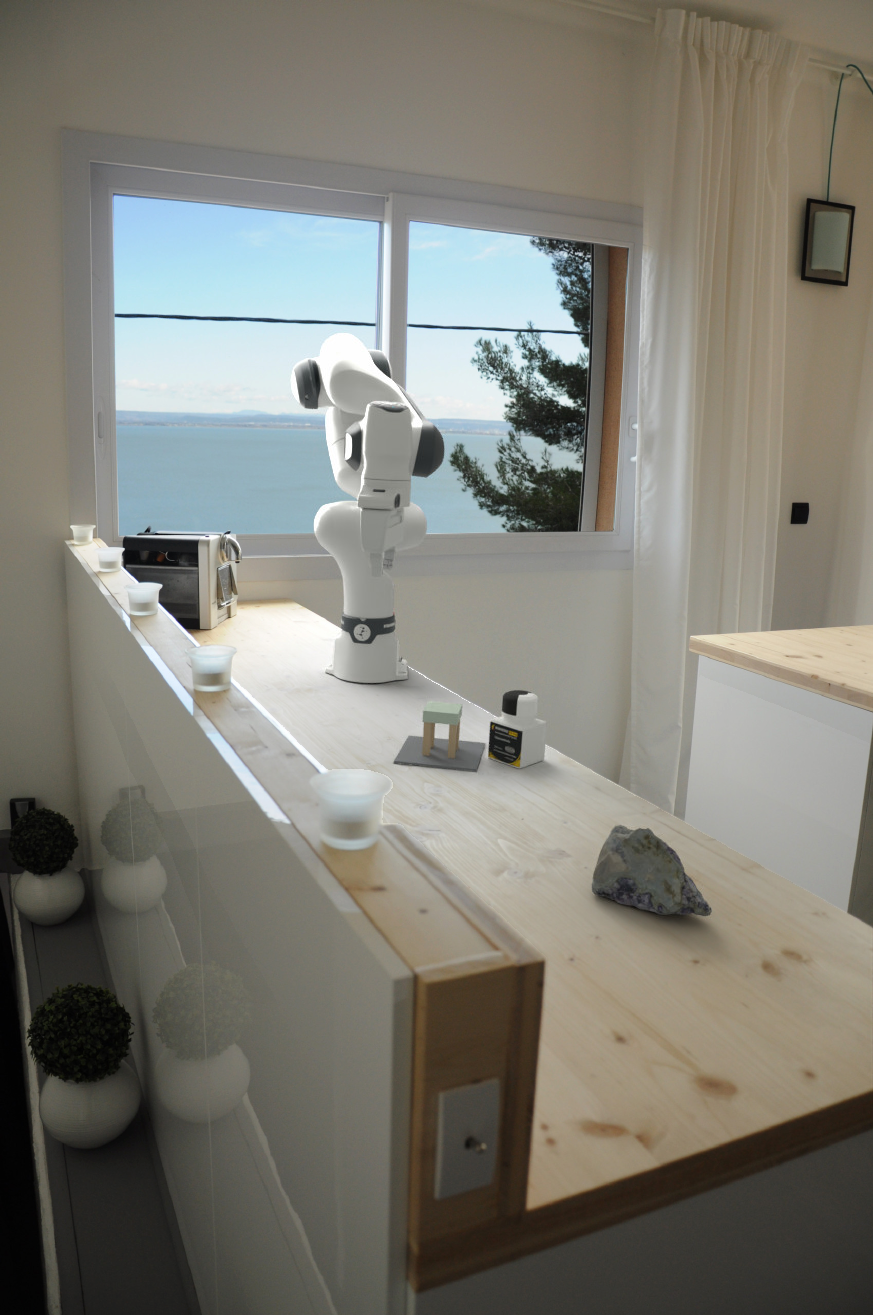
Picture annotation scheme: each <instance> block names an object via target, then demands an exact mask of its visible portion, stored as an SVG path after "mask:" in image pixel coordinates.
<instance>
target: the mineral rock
mask: <svg viewBox="0 0 873 1315" xmlns="http://www.w3.org/2000/svg"><path fill="white" fill-rule="evenodd" d="M594 867H595V868H594V871H593V874H592V883H591V892H592V894H594V895H596V896H598V897H604V898H608V899H610V900H612V901H616V903H618V904H621V905H626V906H634V907H636V908H638V909H639V910H641V911H649V912H653V913H656V914H658V915H659V916H661V915H663V916H667V915H679V916H680V915H681V916H685V915H692V914H693V915H695V916H701V917H708V916H711V915H712V912H713V910H712V907H711V906H710V905H709V903H708V901H707V900H706V899H704V896H703V894H702V893H701V891H700V890H699V888H697V886H696V883H695V882H694V880H693V878H691V876H690V875H688V874H687V873H686V872H685V867H684V865H683V863H682V861H681V859H680V857H679V854H678V853H677V851H676V850H674V849H673V848H672V847H670V846H669V845H668V844H667V842H665V841H664V840H662V839H661V838H660V837H659V836H656V834H655V833H654V832H653V830H651V829H650V828H649V827H646V828H640V827H639V828H635V829H634V830H633V829H629V828H627V826H625V825H622V824H618V825H614V827H613V828H612V830H611V831H610V832H609V834H608V837H607V838H606V839H605V840H604V843H603V845H602V847H601V849H600V852H599V855H598V857H597V861H596V864H595V866H594Z"/></svg>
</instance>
